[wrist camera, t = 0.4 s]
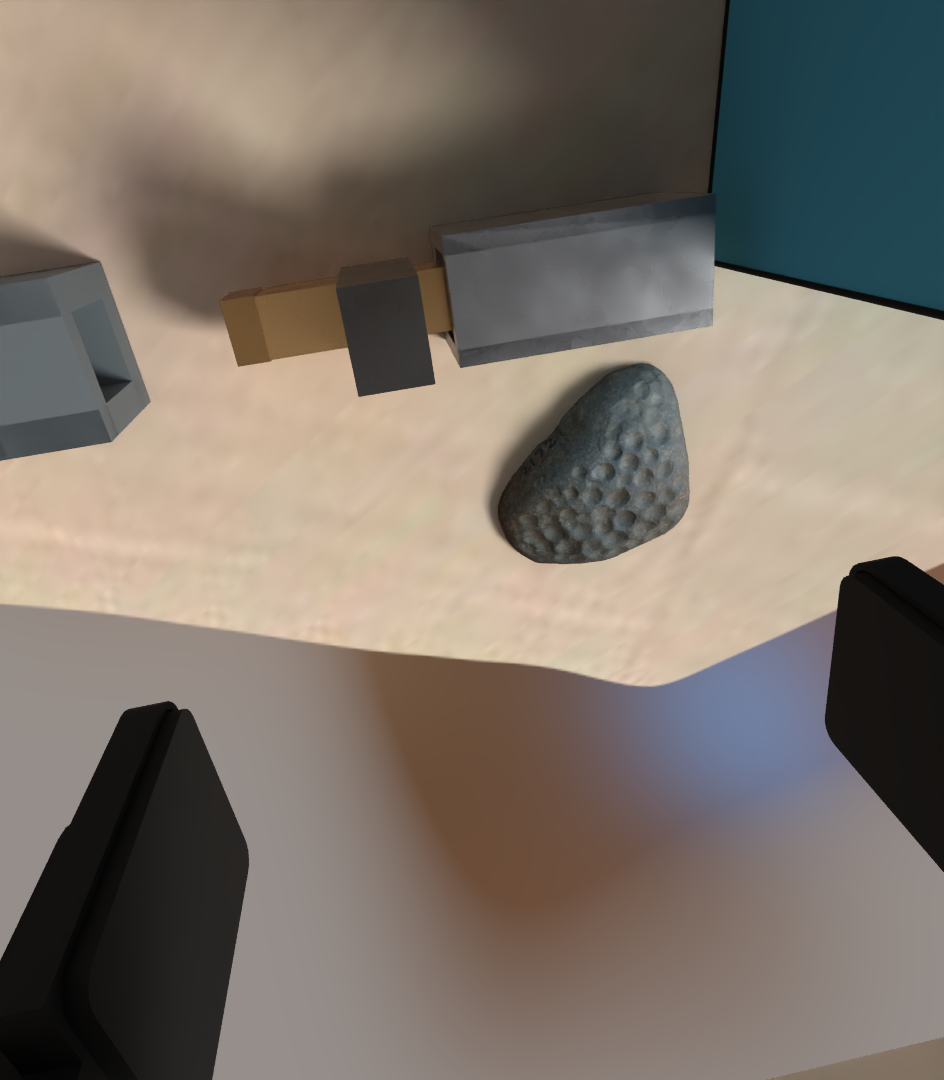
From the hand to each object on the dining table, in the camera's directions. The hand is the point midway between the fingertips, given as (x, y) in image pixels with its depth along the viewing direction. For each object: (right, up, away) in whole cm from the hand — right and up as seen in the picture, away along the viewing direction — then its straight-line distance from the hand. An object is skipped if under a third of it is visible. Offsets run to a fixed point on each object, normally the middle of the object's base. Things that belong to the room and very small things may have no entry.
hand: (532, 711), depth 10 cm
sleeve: (+3, +17, +27) cm, 32 cm away
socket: (-21, +12, +25) cm, 35 cm away
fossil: (+7, +7, +33) cm, 34 cm away
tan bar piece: (-1, +15, +25) cm, 29 cm away
